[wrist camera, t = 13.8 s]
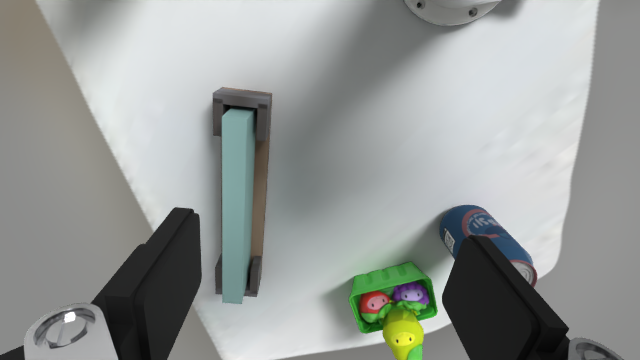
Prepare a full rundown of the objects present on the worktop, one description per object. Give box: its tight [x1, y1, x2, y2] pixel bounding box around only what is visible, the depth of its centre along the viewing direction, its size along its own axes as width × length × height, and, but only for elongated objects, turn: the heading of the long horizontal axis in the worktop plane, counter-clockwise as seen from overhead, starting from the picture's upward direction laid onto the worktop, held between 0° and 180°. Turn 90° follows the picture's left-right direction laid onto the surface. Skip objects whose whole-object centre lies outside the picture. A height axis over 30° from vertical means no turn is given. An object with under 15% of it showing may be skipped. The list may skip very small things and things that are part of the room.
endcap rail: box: [213, 87, 272, 297], centre depth 40 cm, size 6×27×4 cm, turn 173°
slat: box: [222, 105, 257, 304], centre depth 38 cm, size 24×2×6 cm, turn 173°
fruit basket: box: [349, 262, 438, 360], centre depth 44 cm, size 11×9×11 cm
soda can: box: [440, 205, 537, 288], centre depth 39 cm, size 7×7×12 cm
